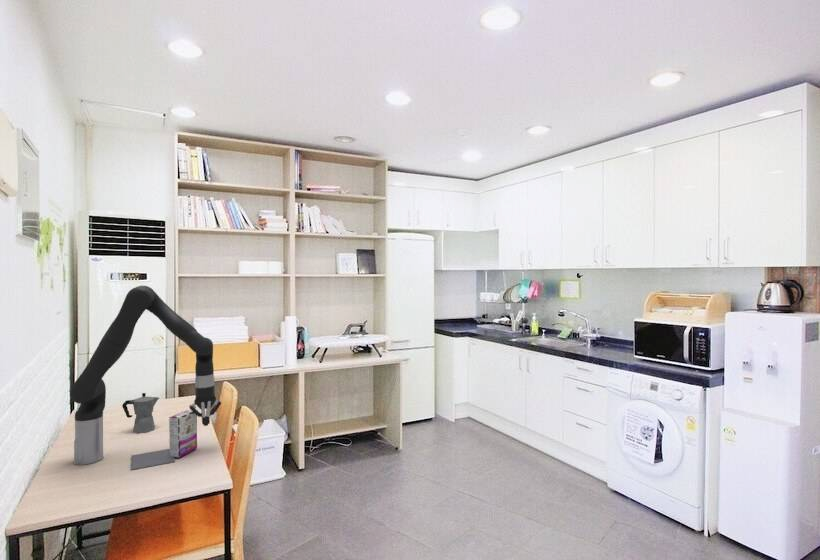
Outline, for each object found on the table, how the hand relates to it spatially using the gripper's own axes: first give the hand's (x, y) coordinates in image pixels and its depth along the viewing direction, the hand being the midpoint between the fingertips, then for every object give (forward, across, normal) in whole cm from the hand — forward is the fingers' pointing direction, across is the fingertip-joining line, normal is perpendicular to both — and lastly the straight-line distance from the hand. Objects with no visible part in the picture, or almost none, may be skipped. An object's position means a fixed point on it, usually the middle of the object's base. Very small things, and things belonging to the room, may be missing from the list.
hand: (206, 425), depth 192 cm
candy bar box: (+10, -9, 0) cm, 13 cm away
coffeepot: (+10, -24, +42) cm, 49 cm away
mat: (+10, -20, 0) cm, 22 cm away
